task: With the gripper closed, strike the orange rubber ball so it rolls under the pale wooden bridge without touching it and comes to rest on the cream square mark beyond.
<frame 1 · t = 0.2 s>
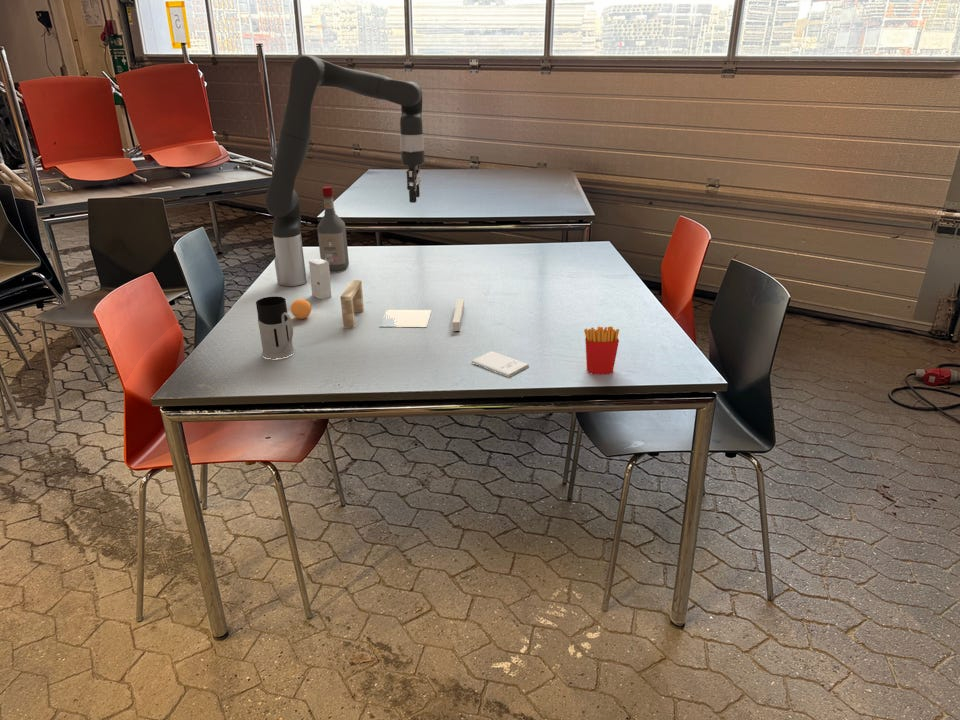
hand: (414, 199, 220), 29 cm above the table, tool pointing down, fingers open, 8 cm apart
bridge: (354, 318, 202), on the table
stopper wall: (458, 319, 201), on the table
french fries: (598, 371, 168), on the table
glass holder: (283, 357, 178), on the table
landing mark: (406, 318, 202), on the table
ball: (301, 308, 202), on the table
external hard drive: (500, 368, 172), on the table
skincare box: (322, 296, 221), on the table
liquor: (335, 268, 249), on the table
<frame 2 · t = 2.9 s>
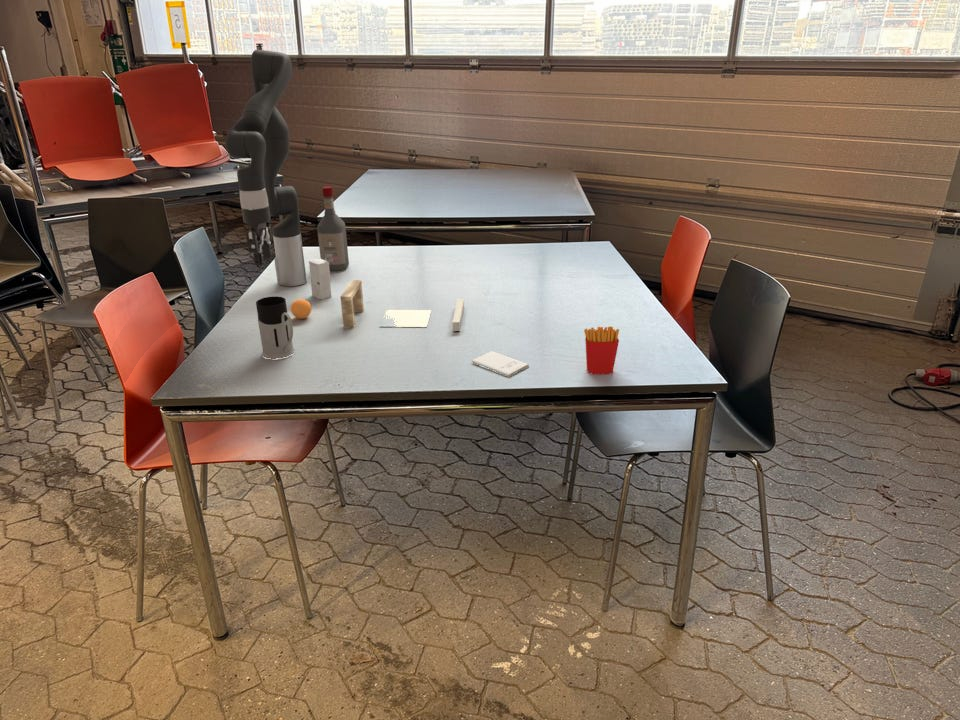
hand: (263, 261, 196), 18 cm above the table, tool pointing down, fingers open, 7 cm apart
nothing on the table moved.
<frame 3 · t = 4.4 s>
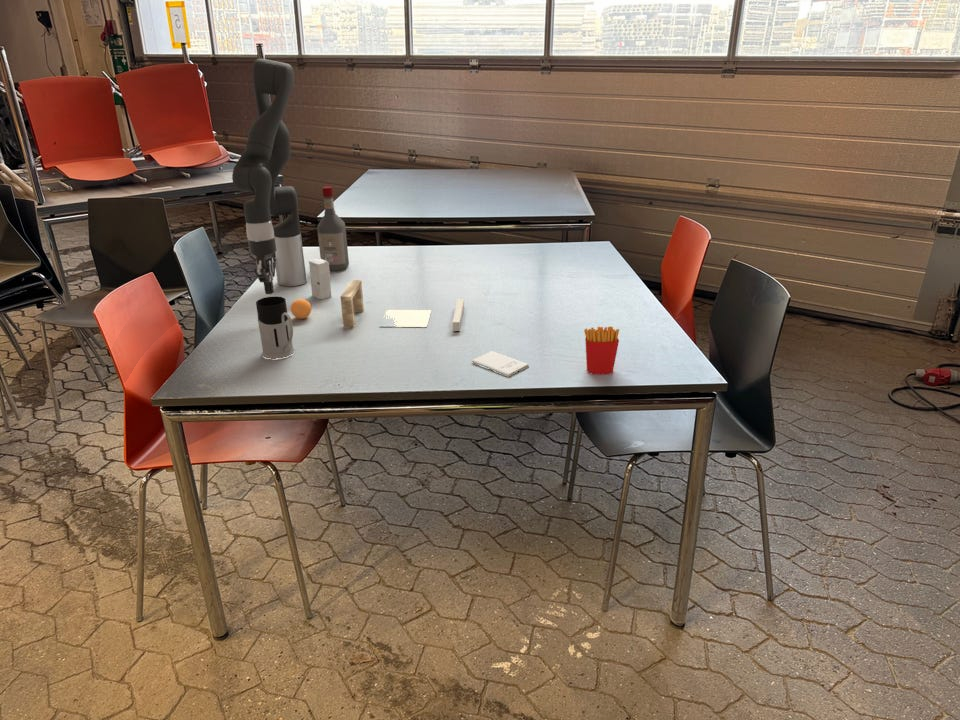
hand: (269, 293, 200), 8 cm above the table, tool pointing down, fingers closed
nothing on the table moved.
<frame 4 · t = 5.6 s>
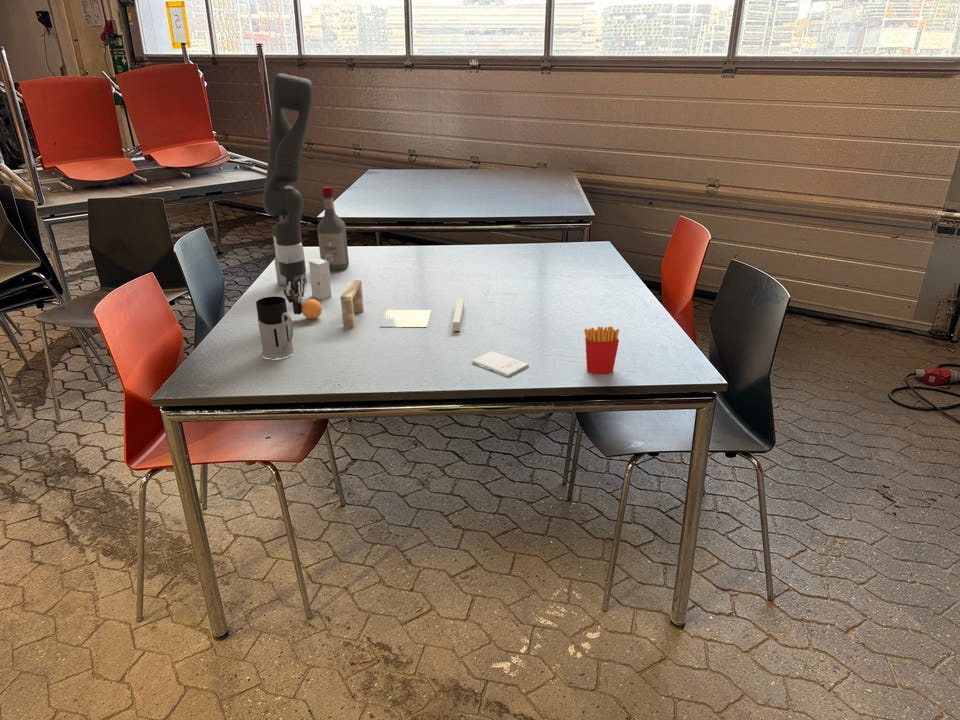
hand: (298, 313, 202), 2 cm above the table, tool pointing down, fingers closed
ball: (311, 309, 201), on the table, touching gripper
everything else where it was.
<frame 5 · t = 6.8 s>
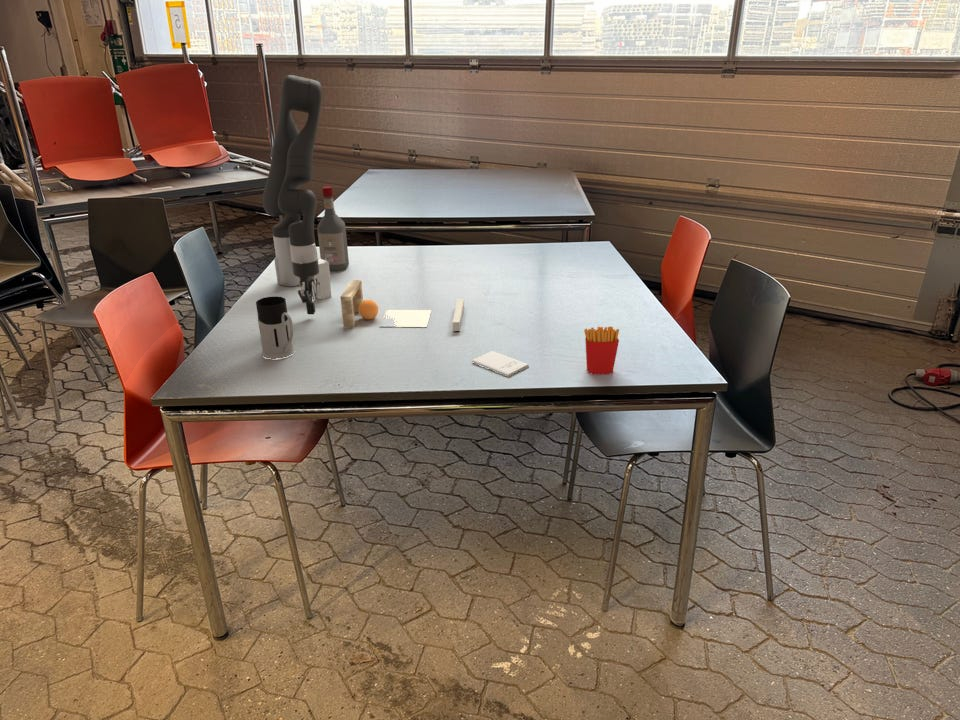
hand: (311, 313, 202), 2 cm above the table, tool pointing down, fingers closed
ball: (368, 309, 201), on the table
everything else where it was.
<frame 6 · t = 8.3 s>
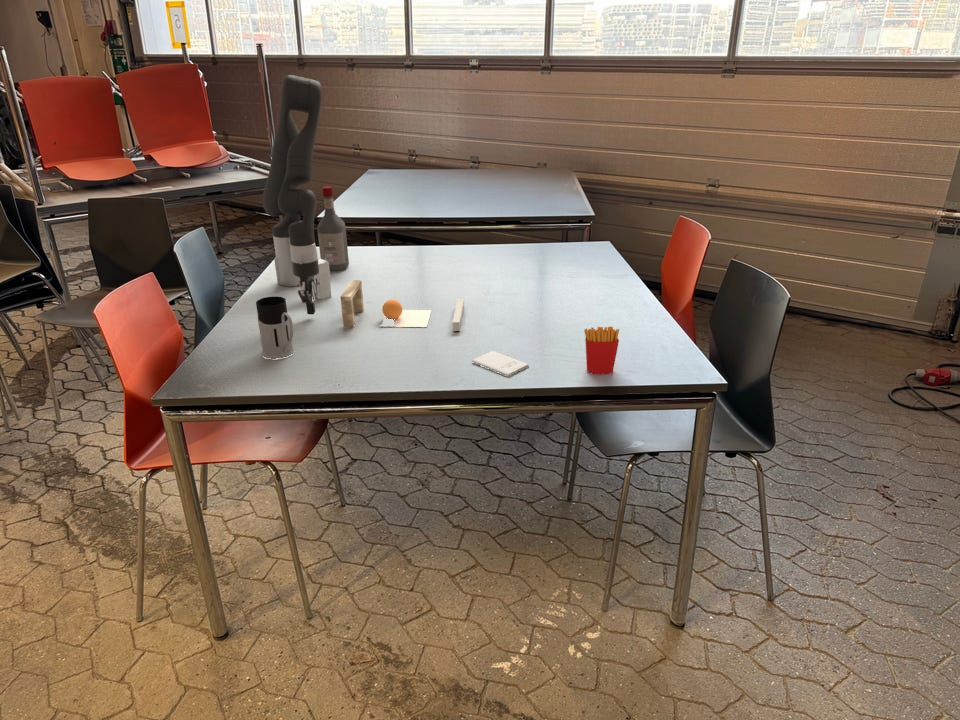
hand: (311, 313, 202), 2 cm above the table, tool pointing down, fingers closed
ball: (392, 309, 201), on the table
everything else where it was.
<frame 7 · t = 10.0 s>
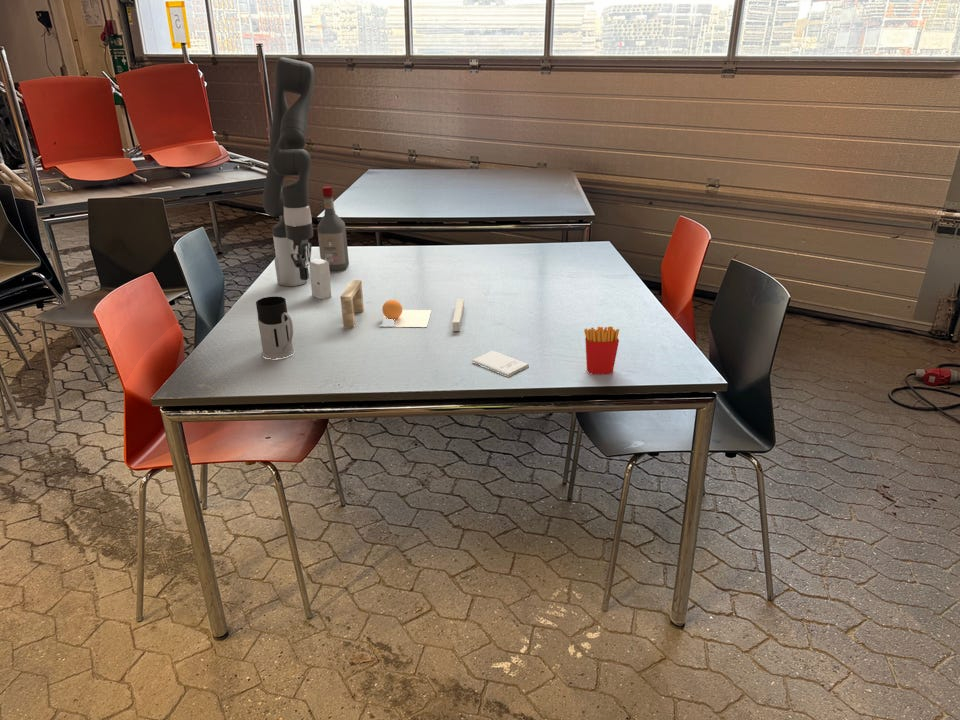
hand: (304, 279, 198), 13 cm above the table, tool pointing down, fingers closed
nothing on the table moved.
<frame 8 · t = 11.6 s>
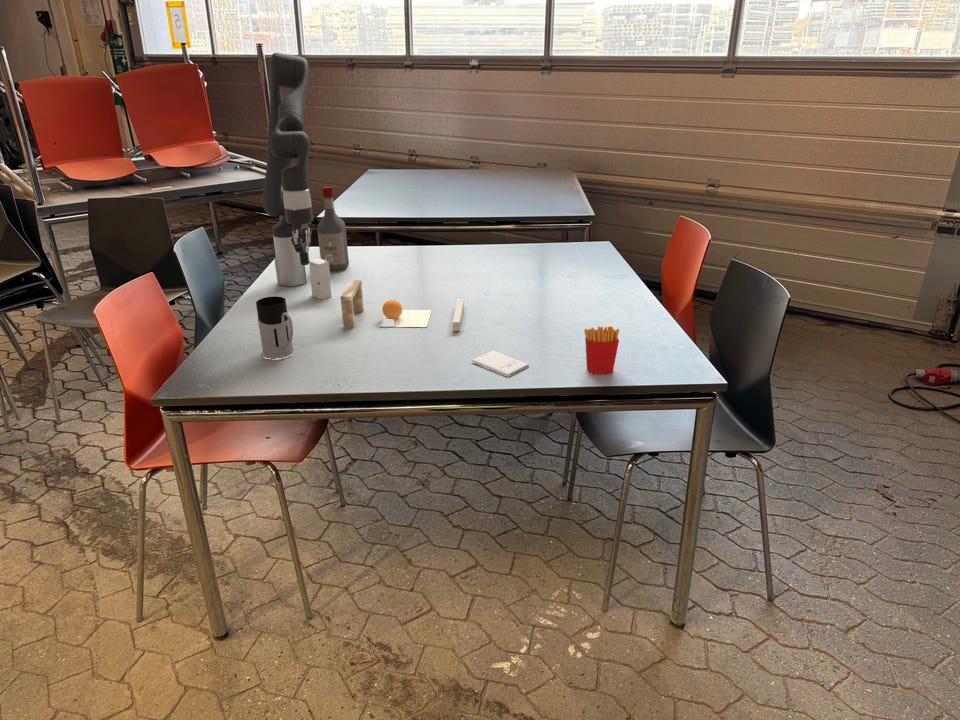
hand: (305, 264, 196), 17 cm above the table, tool pointing down, fingers closed
nothing on the table moved.
at the end: ball 4.0 cm from the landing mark (horizontally); ball never touched bridge; ball at rest at the end (0.0 cm/s) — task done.
